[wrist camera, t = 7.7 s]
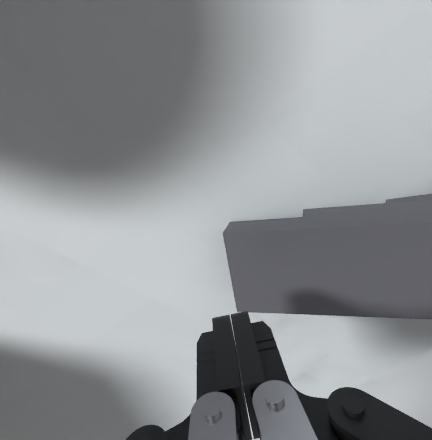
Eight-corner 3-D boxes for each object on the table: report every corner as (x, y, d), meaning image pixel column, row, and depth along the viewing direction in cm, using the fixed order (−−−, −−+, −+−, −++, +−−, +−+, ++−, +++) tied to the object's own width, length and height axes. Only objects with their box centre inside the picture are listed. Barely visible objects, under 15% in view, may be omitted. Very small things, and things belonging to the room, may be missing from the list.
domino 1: (222, 233, 16) (449, 221, 12) (230, 222, 17) (435, 208, 14) (237, 311, 17) (441, 319, 14) (242, 295, 19) (429, 299, 16)
